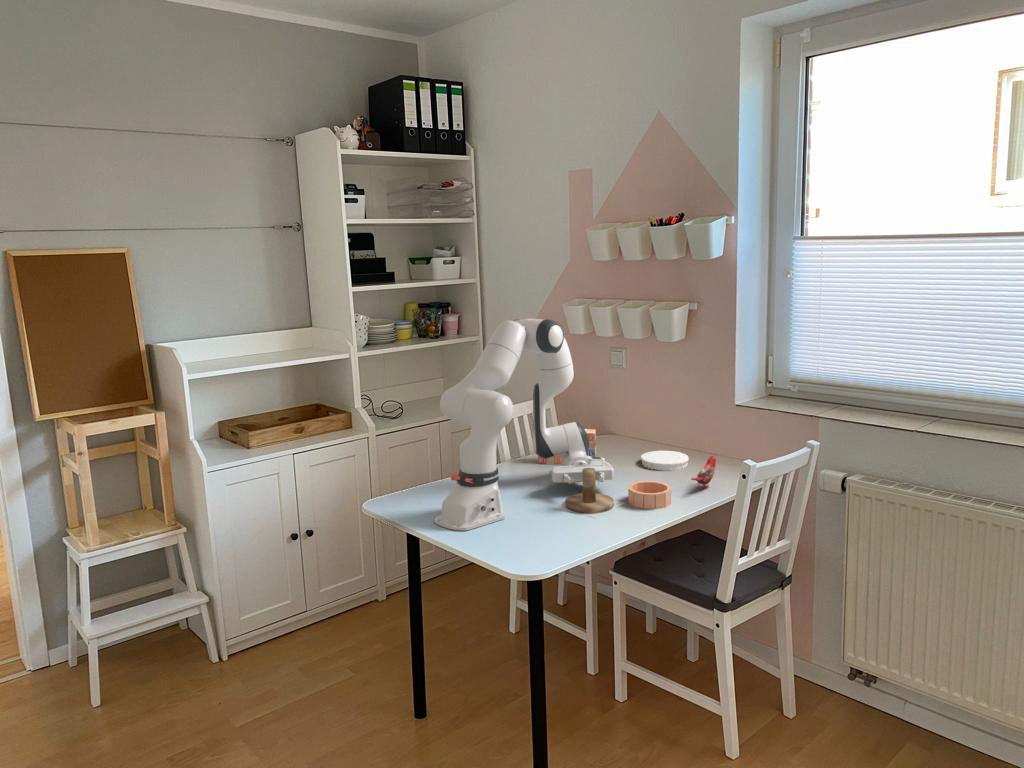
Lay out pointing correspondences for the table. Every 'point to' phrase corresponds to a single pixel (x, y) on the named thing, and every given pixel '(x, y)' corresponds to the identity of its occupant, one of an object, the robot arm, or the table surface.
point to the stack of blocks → (591, 452)
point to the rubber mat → (596, 515)
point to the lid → (664, 460)
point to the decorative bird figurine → (706, 472)
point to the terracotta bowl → (649, 494)
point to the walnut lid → (589, 497)
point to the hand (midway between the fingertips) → (586, 480)
